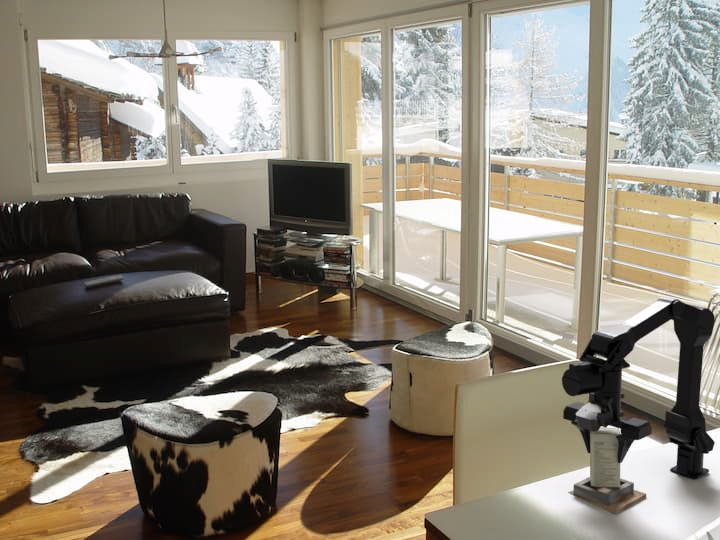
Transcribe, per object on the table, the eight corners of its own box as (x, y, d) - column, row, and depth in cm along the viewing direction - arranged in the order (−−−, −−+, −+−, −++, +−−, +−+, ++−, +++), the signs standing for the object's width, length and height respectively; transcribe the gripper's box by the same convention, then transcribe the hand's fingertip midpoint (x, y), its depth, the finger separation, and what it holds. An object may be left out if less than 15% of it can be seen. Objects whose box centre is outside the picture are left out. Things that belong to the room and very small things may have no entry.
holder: (598, 480, 188) (598, 468, 188) (646, 497, 179) (646, 484, 179) (567, 495, 181) (567, 483, 180) (615, 514, 172) (616, 500, 171)
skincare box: (618, 480, 181) (620, 427, 179) (620, 488, 177) (622, 434, 175) (588, 478, 182) (589, 426, 180) (589, 486, 178) (591, 433, 176)
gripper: (548, 387, 178) (546, 455, 180) (625, 407, 164) (622, 481, 166) (578, 376, 185) (576, 442, 188) (654, 395, 171) (651, 466, 174)
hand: (604, 457), depth 179 cm, fingers closed on skincare box, 7 cm apart
